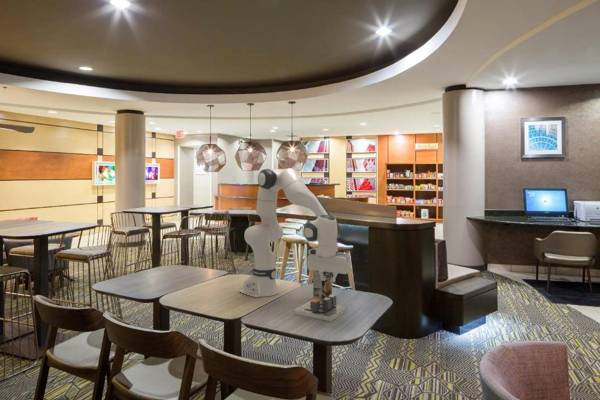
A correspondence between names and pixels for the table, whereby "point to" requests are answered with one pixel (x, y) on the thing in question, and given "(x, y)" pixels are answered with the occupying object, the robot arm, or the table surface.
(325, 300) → the block
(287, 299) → the table surface
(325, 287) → the coffee box
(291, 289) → the table surface
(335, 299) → the breaker
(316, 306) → the breaker
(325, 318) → the panel
